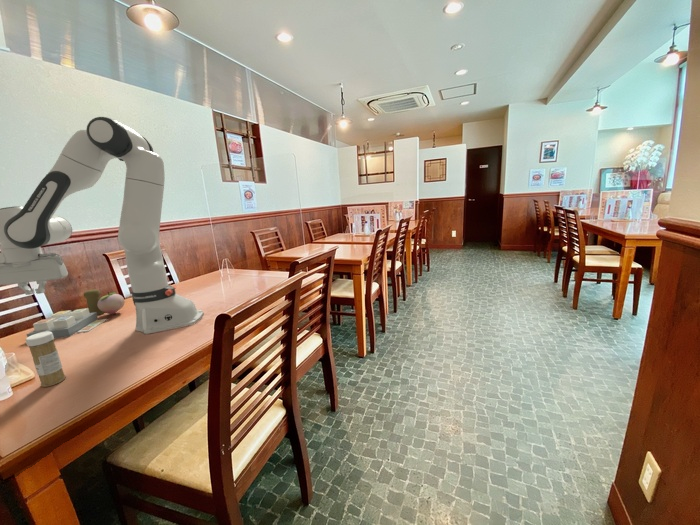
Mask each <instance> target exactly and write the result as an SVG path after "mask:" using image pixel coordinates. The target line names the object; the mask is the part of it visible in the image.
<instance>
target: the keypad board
mask: <svg viewBox="0 0 700 525" xmlns="http://www.w3.org/2000/svg"><path fill="white" fill-rule="evenodd" d="M96 320H99V316H97V313H96V312H94V313H90V315H89V316H87V317H85V318H83V319H75V321H76V323H75V324H73V325H71V326H70V327H66V328H58V329H55V327H53V328H51V329H49V330H42V331H35V329H34V330H32V331H30V332H28V333H26V338H27V337H29V336H31V335H34V334H37V333H41V332H47V331H49V332H52V334H53V336H54V338H55V339H62V338H69V337H72V336H73V335H75V334H77V332H78V331H80V330H81V329H83V328H84V327H86V326H88V325H89V324H91V323H92V322H94V321H96ZM61 337H62V338H61Z"/></svg>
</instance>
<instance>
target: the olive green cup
mask: <svg viewBox="0 0 700 525" xmlns="http://www.w3.org/2000/svg"><path fill="white" fill-rule="evenodd" d="M100 295H101V291H100V290H99V289H95V288H94V289H89V290H85V291H84V292H83V297H84V298H85V299H86V307H87V308H88V309H89V313H94V312H96V313H97V316H98V317H99V316H102V315H104V312H102V311H101V310H100V309H99V308H98V306H97V304H98V301H99V300H100V299H101V297H100Z"/></svg>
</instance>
